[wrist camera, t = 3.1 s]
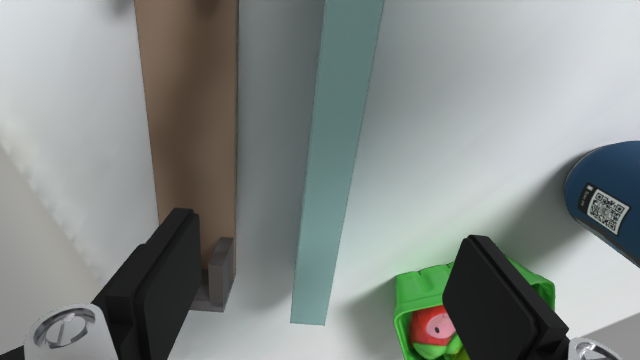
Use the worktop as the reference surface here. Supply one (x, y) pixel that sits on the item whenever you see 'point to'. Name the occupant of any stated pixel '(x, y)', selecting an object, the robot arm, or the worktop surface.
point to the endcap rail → (195, 125)
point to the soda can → (608, 196)
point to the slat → (332, 148)
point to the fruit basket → (439, 312)
